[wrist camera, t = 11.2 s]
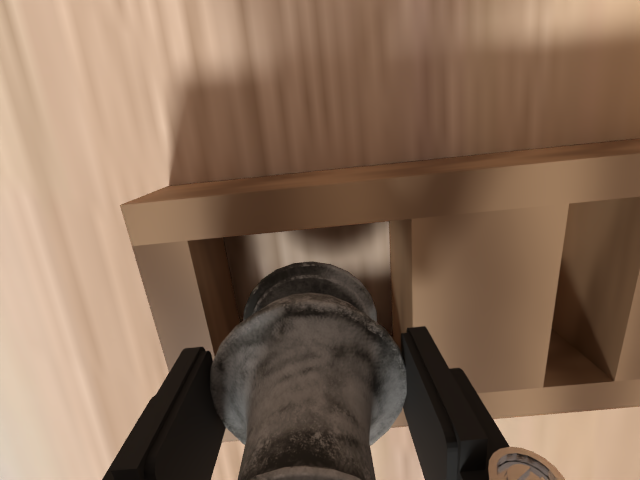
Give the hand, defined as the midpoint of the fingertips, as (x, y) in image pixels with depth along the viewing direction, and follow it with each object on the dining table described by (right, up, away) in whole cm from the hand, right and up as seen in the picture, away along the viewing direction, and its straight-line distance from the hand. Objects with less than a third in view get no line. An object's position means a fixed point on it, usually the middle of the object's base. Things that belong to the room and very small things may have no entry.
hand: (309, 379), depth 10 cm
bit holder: (+5, +3, +6) cm, 8 cm away
